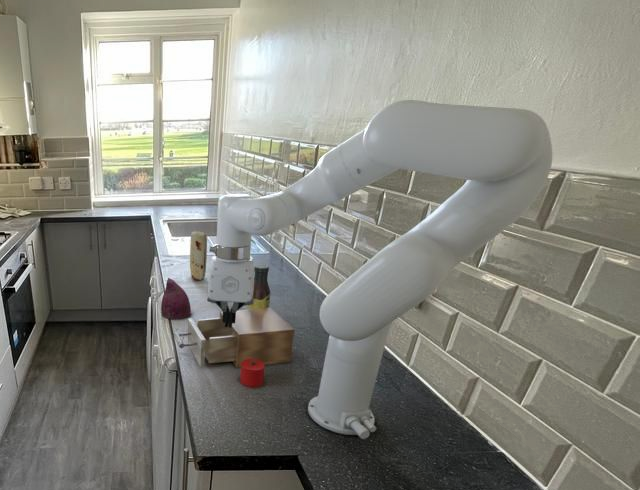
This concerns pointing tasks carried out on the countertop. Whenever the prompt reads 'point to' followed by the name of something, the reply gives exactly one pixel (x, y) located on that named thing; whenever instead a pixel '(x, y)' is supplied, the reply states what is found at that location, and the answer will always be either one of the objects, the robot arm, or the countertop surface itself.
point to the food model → (198, 255)
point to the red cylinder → (252, 372)
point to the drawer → (210, 340)
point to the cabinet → (262, 336)
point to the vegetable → (175, 302)
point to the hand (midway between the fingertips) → (228, 325)
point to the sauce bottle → (261, 288)
